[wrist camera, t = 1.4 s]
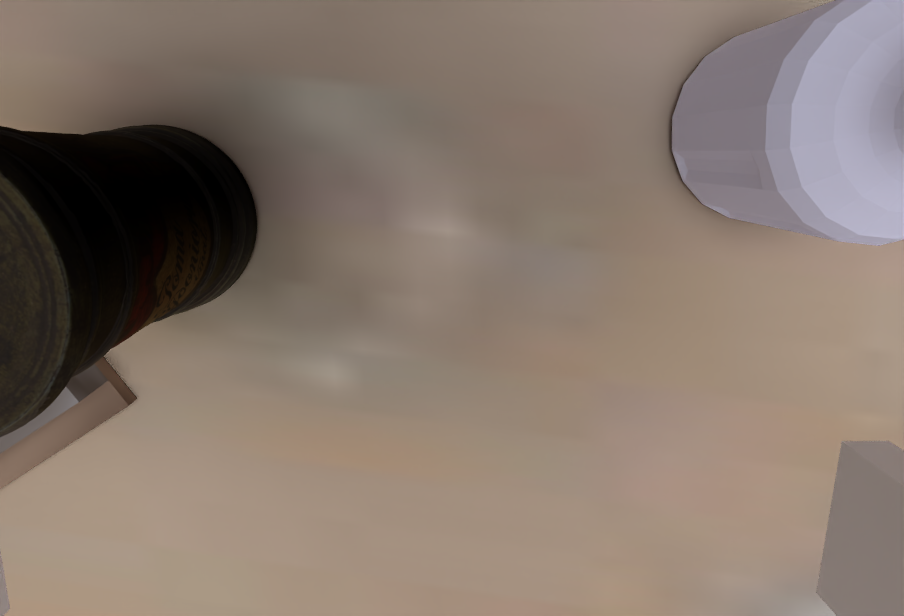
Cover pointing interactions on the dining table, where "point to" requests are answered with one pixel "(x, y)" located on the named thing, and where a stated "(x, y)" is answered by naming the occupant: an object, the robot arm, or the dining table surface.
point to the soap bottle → (802, 124)
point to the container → (107, 247)
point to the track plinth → (64, 420)
